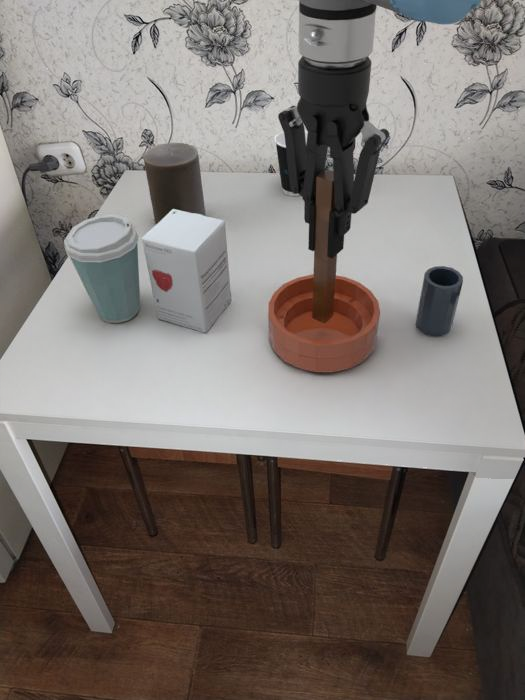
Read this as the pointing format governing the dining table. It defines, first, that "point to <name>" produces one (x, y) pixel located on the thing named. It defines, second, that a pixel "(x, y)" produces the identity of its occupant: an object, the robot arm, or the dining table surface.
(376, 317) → the bowl
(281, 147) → the dixie cup
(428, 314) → the gray pipe section
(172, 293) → the rectangular carton
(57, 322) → the dining table surface
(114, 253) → the disposable coffee cup
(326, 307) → the stirring stick
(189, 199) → the pillar candle
